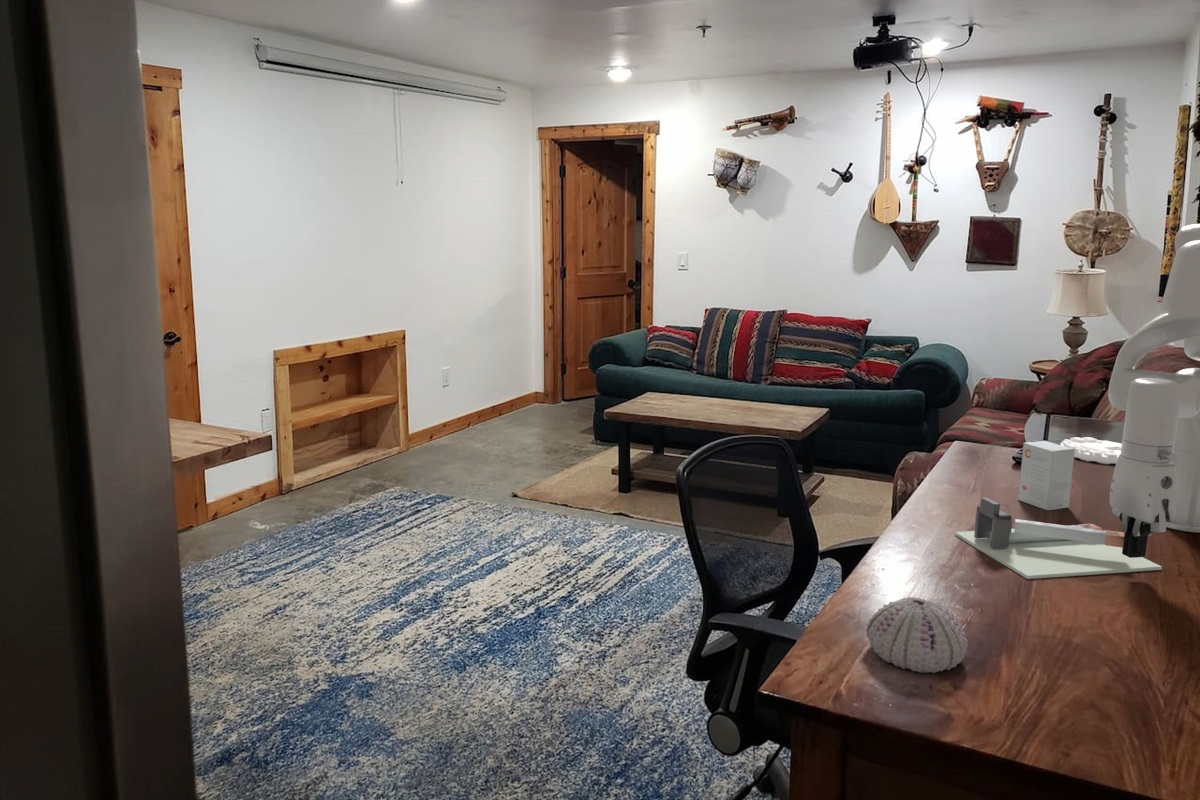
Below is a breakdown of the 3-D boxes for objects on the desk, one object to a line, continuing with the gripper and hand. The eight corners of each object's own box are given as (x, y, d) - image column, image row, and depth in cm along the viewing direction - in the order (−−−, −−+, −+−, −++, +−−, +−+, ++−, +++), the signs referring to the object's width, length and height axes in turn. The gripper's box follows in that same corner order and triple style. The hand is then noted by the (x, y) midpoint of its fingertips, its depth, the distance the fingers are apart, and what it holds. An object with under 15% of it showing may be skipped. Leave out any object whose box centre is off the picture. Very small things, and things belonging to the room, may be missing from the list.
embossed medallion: (1163, 467, 223) (1164, 456, 222) (1084, 466, 223) (1085, 455, 223) (1118, 447, 243) (1119, 437, 242) (1046, 446, 243) (1047, 436, 242)
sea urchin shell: (981, 654, 124) (986, 600, 123) (944, 691, 114) (949, 633, 113) (890, 625, 133) (893, 575, 131) (848, 657, 123) (852, 603, 121)
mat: (1074, 527, 176) (1074, 525, 176) (1161, 569, 155) (1161, 566, 155) (954, 534, 172) (954, 532, 172) (1027, 579, 151) (1027, 575, 150)
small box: (1069, 508, 189) (1076, 448, 186) (1046, 511, 187) (1053, 451, 184) (1039, 497, 196) (1045, 440, 194) (1016, 500, 194) (1022, 442, 192)
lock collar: (988, 536, 169) (992, 495, 167) (1008, 547, 163) (1012, 505, 161) (974, 537, 168) (978, 496, 166) (993, 548, 162) (997, 506, 161)
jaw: (1123, 543, 159) (1124, 532, 158) (1124, 547, 156) (1125, 537, 156) (1014, 528, 166) (1015, 518, 166) (1014, 532, 164) (1015, 522, 163)
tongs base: (1090, 538, 171) (1093, 510, 170) (1100, 542, 168) (1103, 515, 167) (986, 544, 167) (989, 516, 166) (994, 549, 164) (997, 521, 163)
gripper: (1203, 462, 142) (1187, 571, 146) (1132, 440, 156) (1120, 539, 160) (1162, 464, 141) (1147, 573, 144) (1095, 442, 155) (1083, 541, 159)
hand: (1133, 555), depth 152 cm, fingers closed
